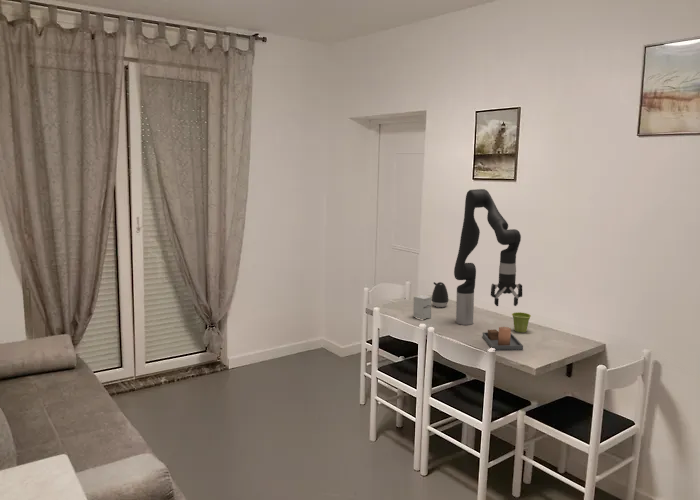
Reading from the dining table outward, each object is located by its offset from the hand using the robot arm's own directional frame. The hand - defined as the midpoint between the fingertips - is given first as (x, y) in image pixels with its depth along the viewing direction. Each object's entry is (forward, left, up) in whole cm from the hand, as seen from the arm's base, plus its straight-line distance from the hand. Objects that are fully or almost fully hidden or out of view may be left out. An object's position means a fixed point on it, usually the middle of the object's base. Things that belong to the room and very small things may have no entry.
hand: (505, 305), depth 248 cm
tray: (-4, 0, -20) cm, 20 cm away
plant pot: (-23, +15, -20) cm, 34 cm away
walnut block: (-9, -3, -19) cm, 21 cm away
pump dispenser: (-72, -19, -20) cm, 77 cm away
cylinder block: (0, 0, -19) cm, 19 cm away
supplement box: (-47, -33, -20) cm, 61 cm away
